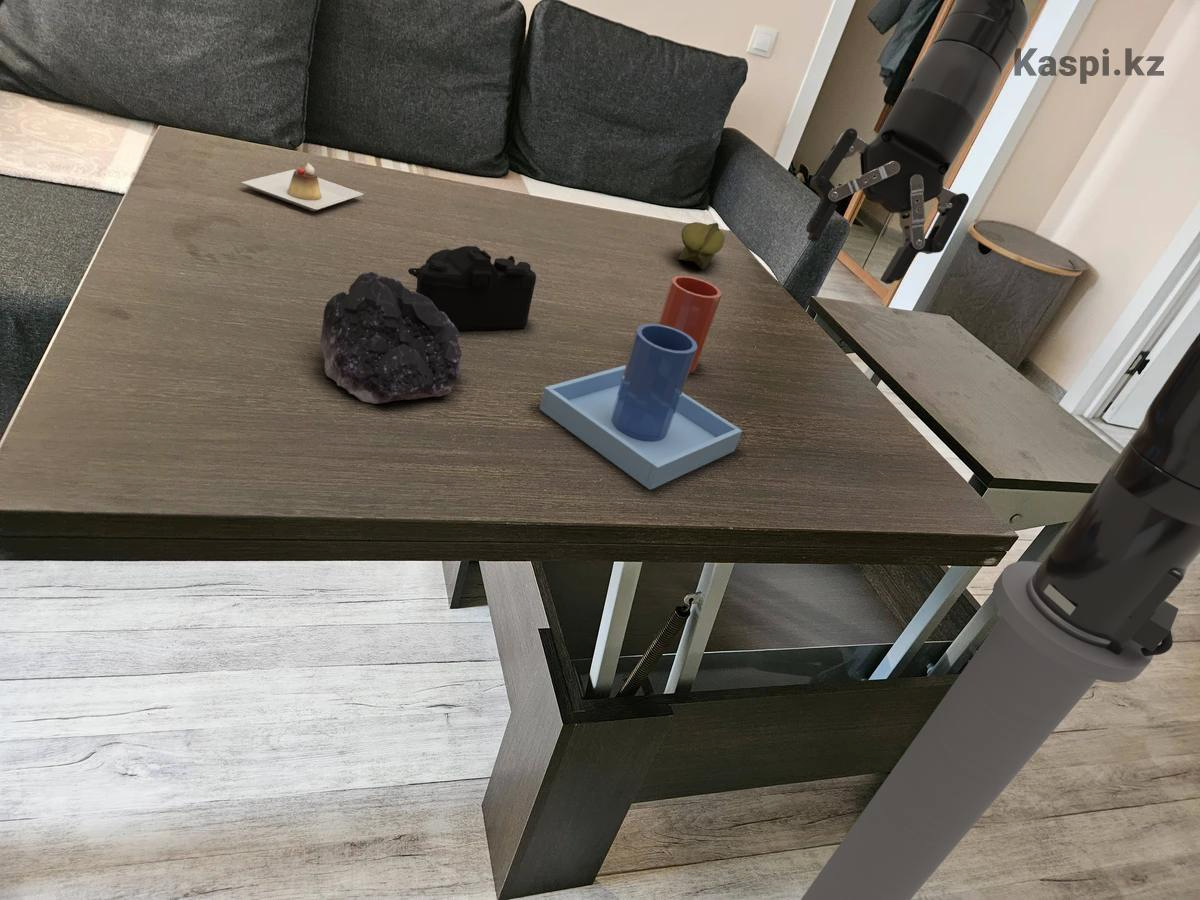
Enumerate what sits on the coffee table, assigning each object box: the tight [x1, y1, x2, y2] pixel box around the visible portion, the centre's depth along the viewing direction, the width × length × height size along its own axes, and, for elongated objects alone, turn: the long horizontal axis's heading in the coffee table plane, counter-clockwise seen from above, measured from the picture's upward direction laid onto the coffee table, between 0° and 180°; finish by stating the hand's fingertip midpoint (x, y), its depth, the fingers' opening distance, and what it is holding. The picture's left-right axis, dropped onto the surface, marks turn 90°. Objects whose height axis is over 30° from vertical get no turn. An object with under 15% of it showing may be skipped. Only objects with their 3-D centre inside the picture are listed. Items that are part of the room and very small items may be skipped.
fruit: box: [678, 221, 725, 270], centre depth 132 cm, size 11×12×7 cm
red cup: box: [657, 275, 723, 374], centre depth 95 cm, size 6×6×10 cm
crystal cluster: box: [320, 271, 462, 405], centre depth 77 cm, size 13×14×10 cm
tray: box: [539, 364, 743, 491], centre depth 81 cm, size 15×14×3 cm
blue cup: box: [611, 323, 698, 441], centre depth 79 cm, size 6×6×10 cm
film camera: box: [407, 245, 537, 332], centre depth 92 cm, size 15×10×9 cm, turn 121°
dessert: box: [241, 162, 365, 212], centre depth 113 cm, size 12×12×5 cm
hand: (849, 261), depth 78 cm, fingers open, 8 cm apart
